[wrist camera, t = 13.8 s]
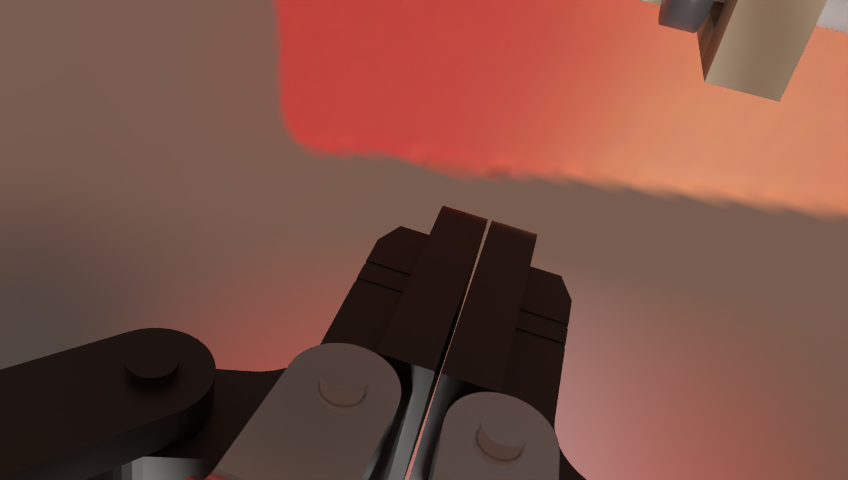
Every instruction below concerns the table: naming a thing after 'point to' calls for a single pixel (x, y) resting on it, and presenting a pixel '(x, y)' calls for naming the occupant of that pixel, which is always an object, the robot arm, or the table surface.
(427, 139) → the table surface
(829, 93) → the table surface
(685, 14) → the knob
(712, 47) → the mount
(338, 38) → the table surface
